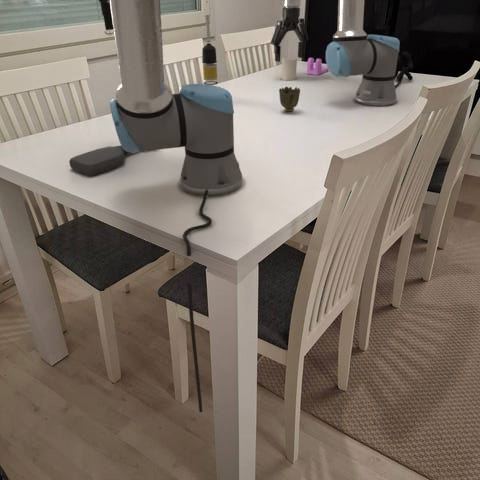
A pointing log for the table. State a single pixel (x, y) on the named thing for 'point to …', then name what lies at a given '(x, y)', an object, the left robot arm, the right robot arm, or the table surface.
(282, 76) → the canister
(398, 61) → the squiggle
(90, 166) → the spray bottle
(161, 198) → the table surface
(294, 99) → the cup
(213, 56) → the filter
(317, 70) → the bracket
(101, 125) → the table surface
